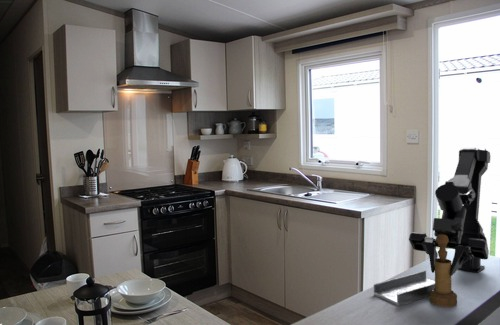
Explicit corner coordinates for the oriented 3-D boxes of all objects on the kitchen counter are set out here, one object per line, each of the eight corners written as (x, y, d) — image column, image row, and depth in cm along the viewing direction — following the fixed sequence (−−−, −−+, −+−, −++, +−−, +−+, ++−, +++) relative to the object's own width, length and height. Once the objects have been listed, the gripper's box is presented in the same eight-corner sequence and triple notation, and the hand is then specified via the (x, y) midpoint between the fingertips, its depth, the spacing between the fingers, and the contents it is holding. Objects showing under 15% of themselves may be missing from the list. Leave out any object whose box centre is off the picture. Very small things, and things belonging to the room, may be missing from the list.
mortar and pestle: (460, 308, 107) (459, 237, 106) (432, 307, 109) (431, 237, 107) (453, 297, 114) (452, 231, 112) (427, 296, 115) (426, 231, 114)
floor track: (424, 280, 127) (424, 270, 127) (451, 289, 119) (451, 279, 119) (373, 294, 118) (373, 284, 118) (398, 305, 110) (398, 294, 110)
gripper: (410, 203, 118) (396, 252, 111) (486, 208, 106) (476, 263, 99) (419, 225, 125) (407, 273, 117) (492, 232, 113) (484, 286, 105)
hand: (441, 273), depth 109 cm, fingers open, 4 cm apart
